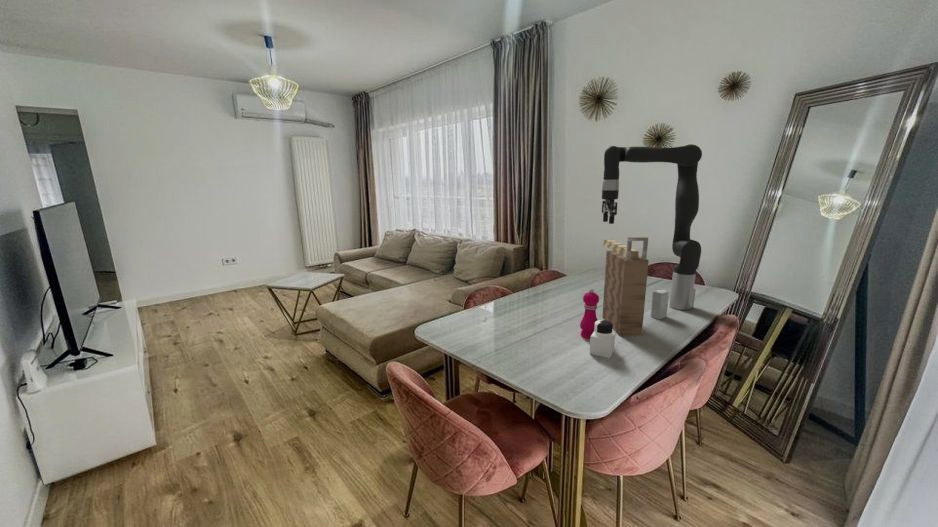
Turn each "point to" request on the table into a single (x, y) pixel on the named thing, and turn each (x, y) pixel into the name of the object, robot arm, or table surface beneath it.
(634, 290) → the brown tall blocky piece
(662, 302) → the skincare box
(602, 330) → the medicine bottle
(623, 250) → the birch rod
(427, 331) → the table surface
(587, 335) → the pepper mill
